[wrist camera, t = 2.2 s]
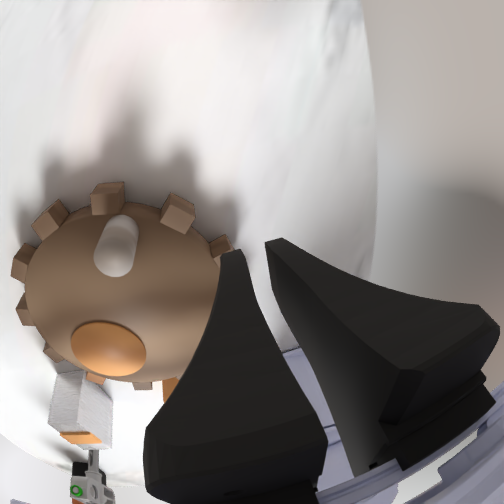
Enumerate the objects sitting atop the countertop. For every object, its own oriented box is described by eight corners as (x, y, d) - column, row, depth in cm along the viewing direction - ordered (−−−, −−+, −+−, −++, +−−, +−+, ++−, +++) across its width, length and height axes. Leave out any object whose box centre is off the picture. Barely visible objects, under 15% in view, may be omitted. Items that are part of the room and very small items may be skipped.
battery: (87, 472, 37) (88, 516, 29) (71, 461, 34) (71, 508, 26) (106, 474, 38) (109, 518, 30) (92, 462, 35) (93, 512, 26)
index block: (191, 388, 27) (194, 412, 25) (173, 392, 27) (175, 416, 25) (181, 372, 26) (184, 398, 23) (162, 376, 26) (163, 402, 23)
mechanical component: (100, 458, 34) (102, 511, 26) (68, 432, 29) (65, 495, 20) (115, 458, 35) (119, 512, 26) (86, 433, 29) (85, 497, 21)
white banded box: (113, 401, 26) (112, 451, 21) (87, 404, 26) (83, 451, 21) (84, 369, 23) (77, 424, 18) (56, 373, 23) (46, 425, 18)
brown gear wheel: (257, 346, 26) (273, 390, 21) (88, 383, 24) (84, 425, 19) (213, 149, 16) (227, 170, 12) (-13, 232, 14) (-47, 270, 10)
